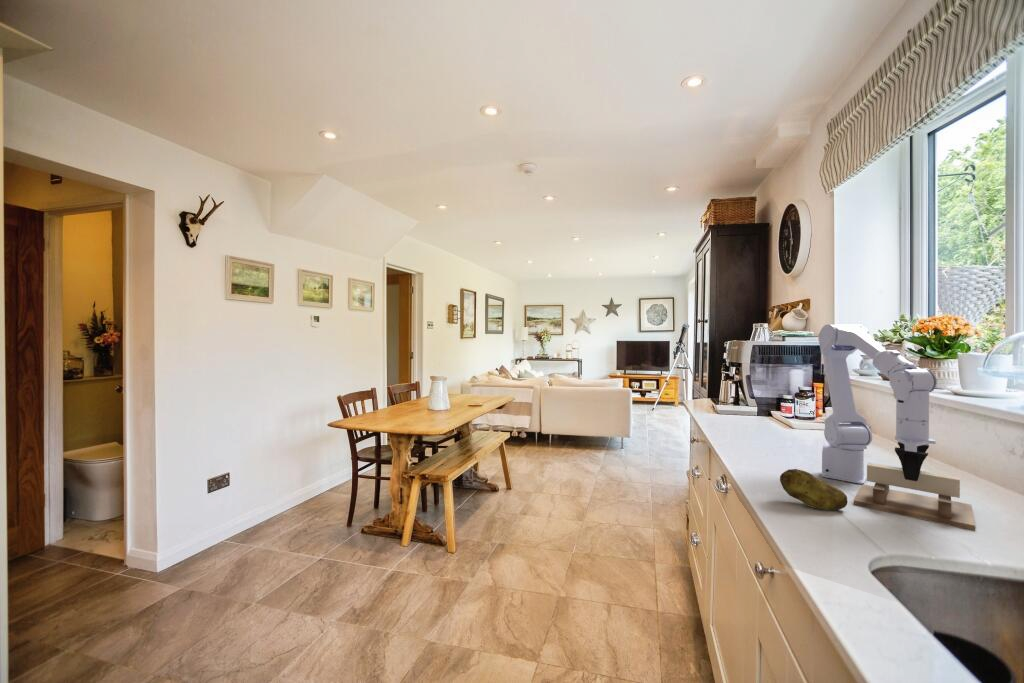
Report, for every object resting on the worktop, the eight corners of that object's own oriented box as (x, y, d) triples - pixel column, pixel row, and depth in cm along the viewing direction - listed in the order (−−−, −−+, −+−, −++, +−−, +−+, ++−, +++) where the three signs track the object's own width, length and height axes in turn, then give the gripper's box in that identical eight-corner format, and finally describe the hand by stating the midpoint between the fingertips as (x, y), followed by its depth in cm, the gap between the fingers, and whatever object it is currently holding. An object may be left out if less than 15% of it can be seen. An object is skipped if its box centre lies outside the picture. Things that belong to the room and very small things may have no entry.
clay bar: (866, 481, 107) (867, 465, 107) (868, 478, 109) (868, 462, 109) (959, 498, 96) (959, 480, 96) (959, 494, 98) (959, 477, 98)
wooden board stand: (853, 504, 104) (853, 485, 104) (862, 487, 115) (862, 471, 115) (975, 530, 90) (975, 508, 90) (971, 508, 101) (971, 489, 101)
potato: (840, 519, 95) (840, 483, 95) (775, 502, 105) (775, 469, 105) (850, 509, 101) (850, 475, 101) (787, 494, 111) (788, 463, 111)
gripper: (935, 426, 94) (935, 488, 94) (936, 417, 104) (935, 473, 105) (892, 421, 99) (892, 480, 99) (897, 413, 109) (896, 467, 110)
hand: (911, 476), depth 102 cm, fingers open, 7 cm apart
